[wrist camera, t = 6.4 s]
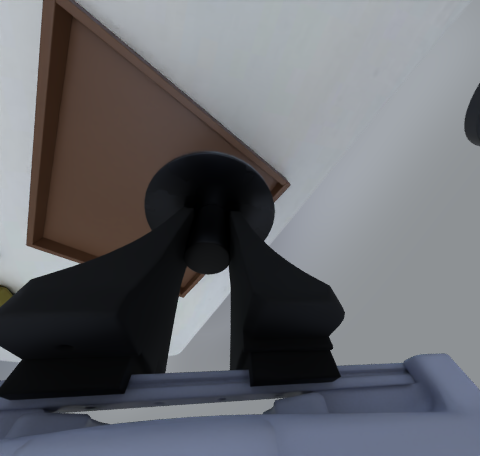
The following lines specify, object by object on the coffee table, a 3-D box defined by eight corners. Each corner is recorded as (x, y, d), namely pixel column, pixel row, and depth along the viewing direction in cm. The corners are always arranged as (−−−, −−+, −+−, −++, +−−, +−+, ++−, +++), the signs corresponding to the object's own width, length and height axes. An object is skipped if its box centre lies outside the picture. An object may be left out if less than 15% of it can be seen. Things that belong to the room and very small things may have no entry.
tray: (286, 178, 20) (291, 185, 18) (185, 287, 31) (183, 297, 29) (69, -4, 11) (43, -21, 10) (40, 235, 23) (25, 245, 21)
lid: (293, 178, 11) (329, 216, 7) (243, 262, 15) (249, 313, 11) (159, 121, 8) (108, 133, 5) (145, 239, 13) (112, 293, 9)
